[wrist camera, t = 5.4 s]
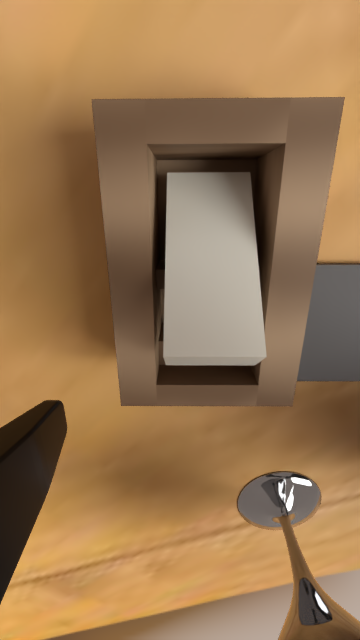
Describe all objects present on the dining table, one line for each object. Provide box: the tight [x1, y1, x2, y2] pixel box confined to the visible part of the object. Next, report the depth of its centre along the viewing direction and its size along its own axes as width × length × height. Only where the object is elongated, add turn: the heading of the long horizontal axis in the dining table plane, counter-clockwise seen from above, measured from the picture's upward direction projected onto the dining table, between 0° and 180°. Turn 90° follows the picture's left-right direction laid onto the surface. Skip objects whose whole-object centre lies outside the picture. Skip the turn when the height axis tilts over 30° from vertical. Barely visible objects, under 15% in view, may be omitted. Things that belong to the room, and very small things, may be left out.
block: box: [163, 172, 267, 365], centre depth 14 cm, size 9×4×2 cm
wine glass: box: [237, 472, 360, 640], centre depth 18 cm, size 8×8×15 cm
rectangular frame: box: [92, 97, 345, 406], centre depth 15 cm, size 13×9×5 cm
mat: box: [297, 264, 360, 381], centre depth 19 cm, size 8×8×1 cm
